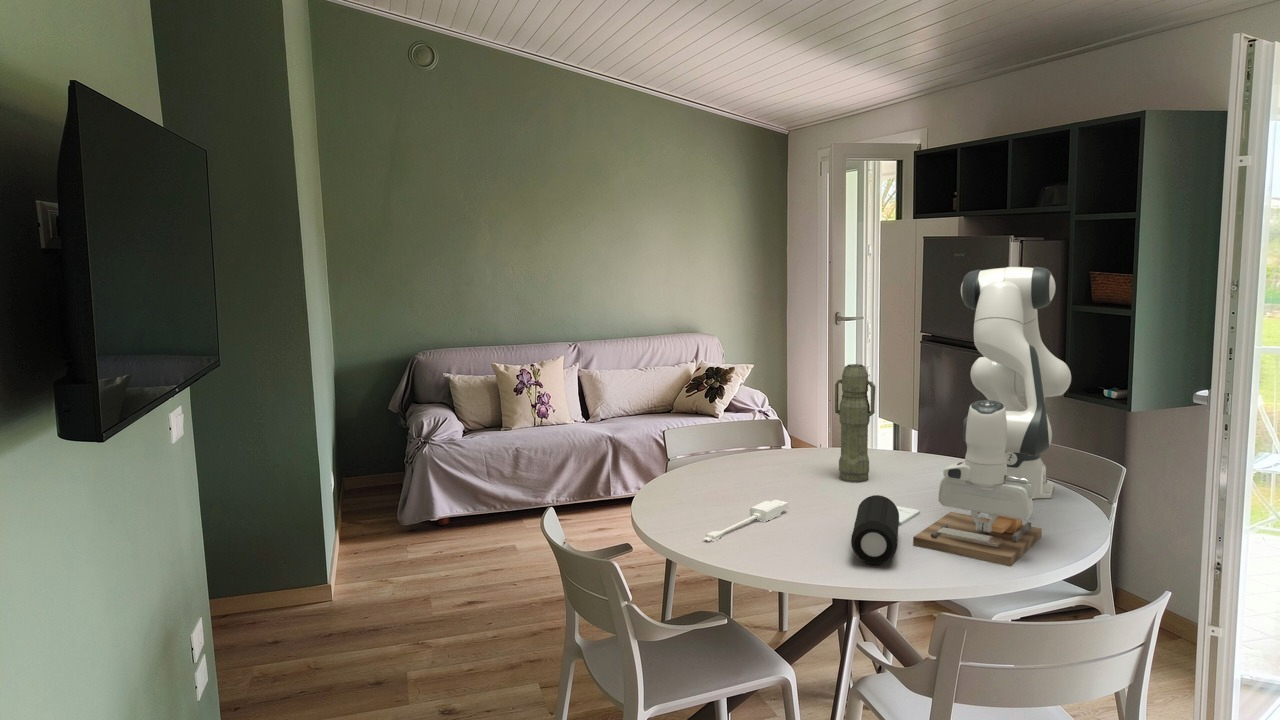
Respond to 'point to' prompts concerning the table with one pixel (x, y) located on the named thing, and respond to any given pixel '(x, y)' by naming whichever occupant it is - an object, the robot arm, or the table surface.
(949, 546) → the base
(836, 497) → the table surface
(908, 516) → the external hard drive
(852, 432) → the thermos
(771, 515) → the charging cable
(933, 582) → the table surface
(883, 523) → the portable speaker
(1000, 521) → the bolt
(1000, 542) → the grey flat bar
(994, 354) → the robot arm
